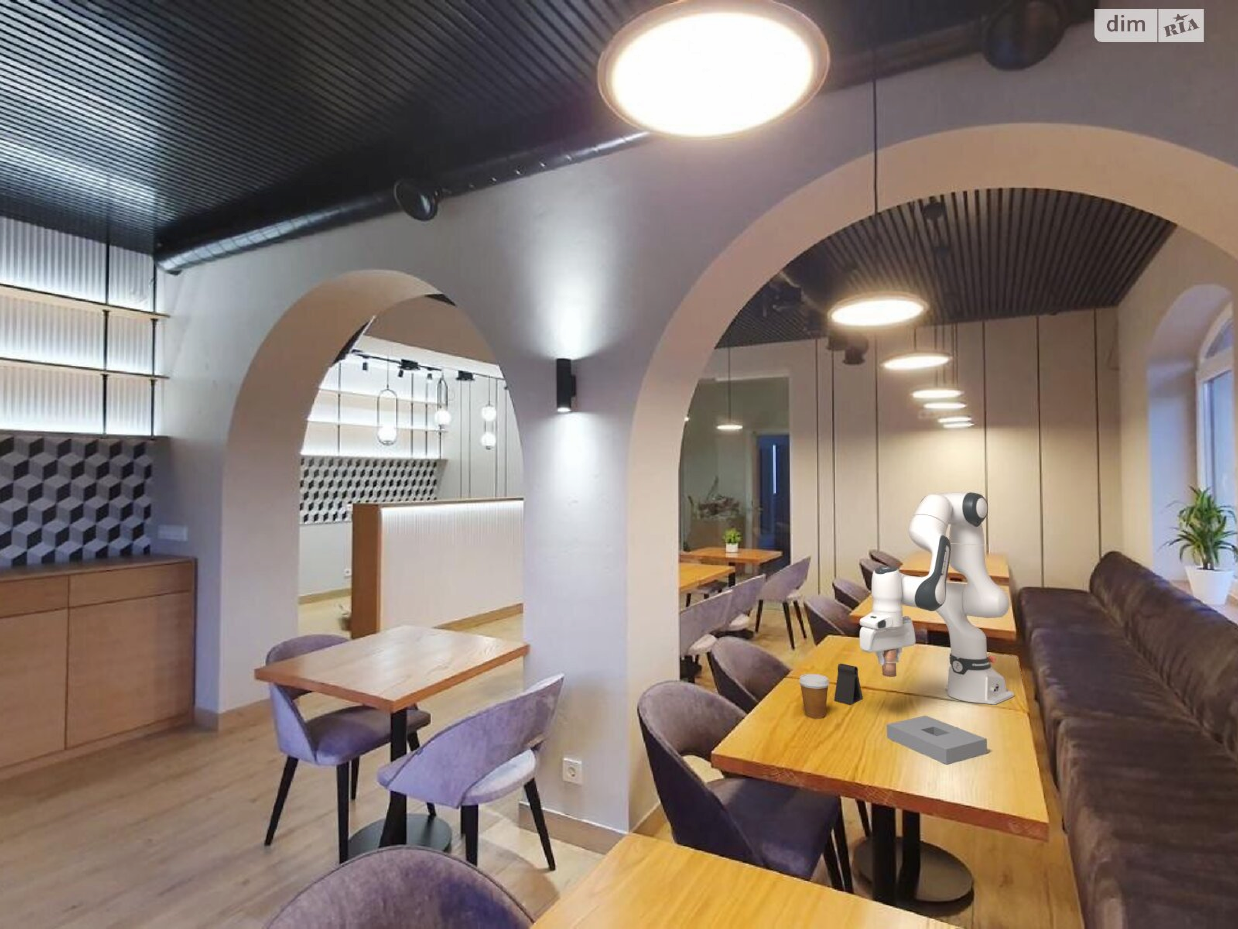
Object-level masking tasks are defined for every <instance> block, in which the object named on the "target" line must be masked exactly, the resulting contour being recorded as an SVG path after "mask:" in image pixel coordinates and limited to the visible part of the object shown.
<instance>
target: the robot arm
mask: <svg viewBox="0 0 1238 929" xmlns="http://www.w3.org/2000/svg"><path fill="white" fill-rule="evenodd" d="M988 514H989V505H988V501H987V499H986V498H985V497H984V496H983V495H982V494H981V493H978V492H962V491H961V492H960V491H952V492H945V493H944V492H943V493H931V494H927V495H925V496H924V497H923V498H922V499H921V501H920V503H919V505H918V506H917V508H916V509H915V511H914V514H913V516H912V518H911V520H910V522H909V526H908V535H909V538H910V539H911V541H912V542H913V543H914V544H915V545H916V546H917V547H919V548H920V549H922V550H924V551H926V552H928V553H930V554H931V561H930V567H929V572H928V574H927V575H925V576H914V575H908V574H905V573H902V572H901V571H900V570H899V568H898V567H897V566H893V565H882V566H878V567H876V568H875V569H874V570H873V572H872V576H871V597H872V601H873V602H872V605H871V606H872V607H871V612H869V613H868V614H867V615H865V616H863V617H861V618H860V620H859V625H860V626H861V628H860V630H859V648H860V650H861V651H862V652H865V653H867V654H868V653H869V654H873V653H875V656H876V657H877V658H878V659H877V660H878V664H879V665H881V666H882V665H885V664H886V659H884V657H883V655H882V654H884V651H885V650H891V649H895V650H896V663H899V662H900V657H901V654H902V652H903V648H908V647H912V646H914V647H915V645H916V644H915V643H916V632H915V628H914V625H913V619H912V618H911V617H909V616H908V615H905V616H904V615H903V614H904V613H903V606H905V607H910V608H911V607H912V608H917V609H921V610H924V611H928V612H936V613H937V614H938V615H939V616H940V617H941V619H942V620H943V621H944V623H945V625H946V627H947V629H948V634H949V641H950V653H949V664H950V666H949V667H948V673H947V674H948V676H947V685H945V691H946V694H947V695H948V696H949V697H951V698H953V699H956V700H959V701H963V702H969V703H976V704H977V703H980V704H989V705H997V704H1000V703H1002V702H1004V701H1006V700H1008V699H1011V698H1014V697H1015V693H1014V692H1013V691H1011V690H1009V689H1007V688H1006V687H1007V684H1006V680H1005V677H1004V676H1003V675H1001V674H1000V673H998V671H996V670H995V669H994V668H993V667H992V665H991V663H992V664H995V663H996V661H997V660H996V657H995V656H990V655H988V652H987V648H988V646H987V636H986V634H985V633H984V632H983V630H982V629H980V627H978V626H976V625H974V624H972V623H971V621H969V619H968V617H976V618H984V619H992V618H994V619H995V618H1003V617H1005V615H1006V614H1007V613H1008V612H1009V609H1010V598H1009V596H1008V594H1007V593H1006V592H1005V591H1004V590H1003V589H1002V588H1001V587H999V586H998V585H997V584H996V583H995V582H994V580H993V579H992V578H991V576H990V574H989V572H988V568H987V565H986V556H985V553H986V552H985V534H984V528H983V522H984V521H985V519H986V518H987V516H988ZM949 525H950V527H949ZM948 528H949V536H948V537H947V536H946V534H947V531H948ZM949 566H950V567H951V568H952V569H953V570H954V571H955V572H957V573H959V574H961V575H962V576H964V577H965V579H966V581H967V583H959V582H949V581H948V582H947V578H948V573H949Z"/></svg>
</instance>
